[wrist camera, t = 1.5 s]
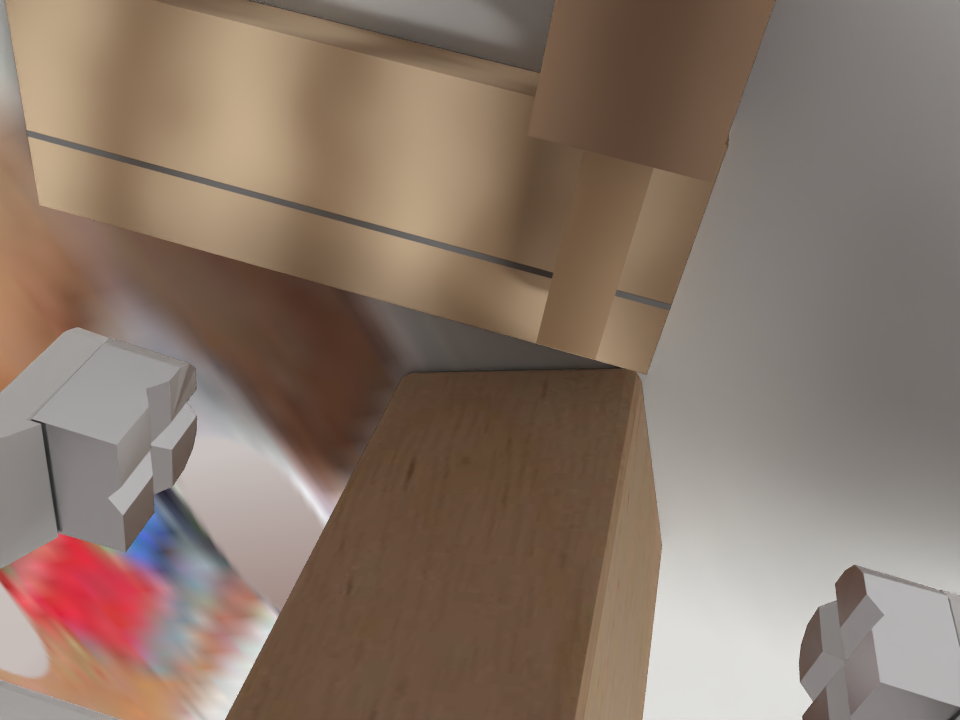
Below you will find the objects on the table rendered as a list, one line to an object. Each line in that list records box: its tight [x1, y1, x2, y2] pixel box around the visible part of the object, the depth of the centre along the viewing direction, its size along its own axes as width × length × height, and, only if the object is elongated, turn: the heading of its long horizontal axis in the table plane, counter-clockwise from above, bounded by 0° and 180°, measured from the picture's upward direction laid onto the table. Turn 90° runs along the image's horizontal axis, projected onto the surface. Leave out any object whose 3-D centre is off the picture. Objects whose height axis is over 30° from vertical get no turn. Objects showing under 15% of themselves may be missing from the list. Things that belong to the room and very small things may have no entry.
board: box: [5, 0, 729, 375], centre depth 32 cm, size 24×9×2 cm, turn 81°
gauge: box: [528, 0, 776, 360], centre depth 27 cm, size 5×12×6 cm, turn 171°
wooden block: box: [225, 368, 662, 720], centre depth 31 cm, size 10×10×20 cm
